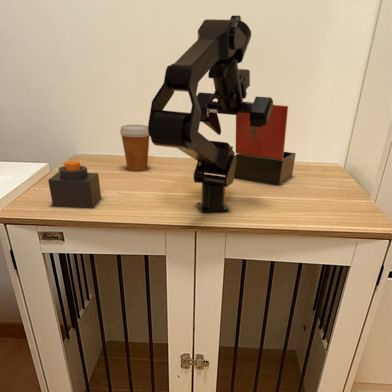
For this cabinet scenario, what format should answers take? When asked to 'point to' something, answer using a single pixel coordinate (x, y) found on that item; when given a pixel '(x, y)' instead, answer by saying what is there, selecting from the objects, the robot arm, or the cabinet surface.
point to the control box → (75, 188)
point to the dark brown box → (264, 168)
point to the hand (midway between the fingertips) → (236, 135)
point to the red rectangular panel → (262, 134)
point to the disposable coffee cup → (135, 146)
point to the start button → (72, 165)
